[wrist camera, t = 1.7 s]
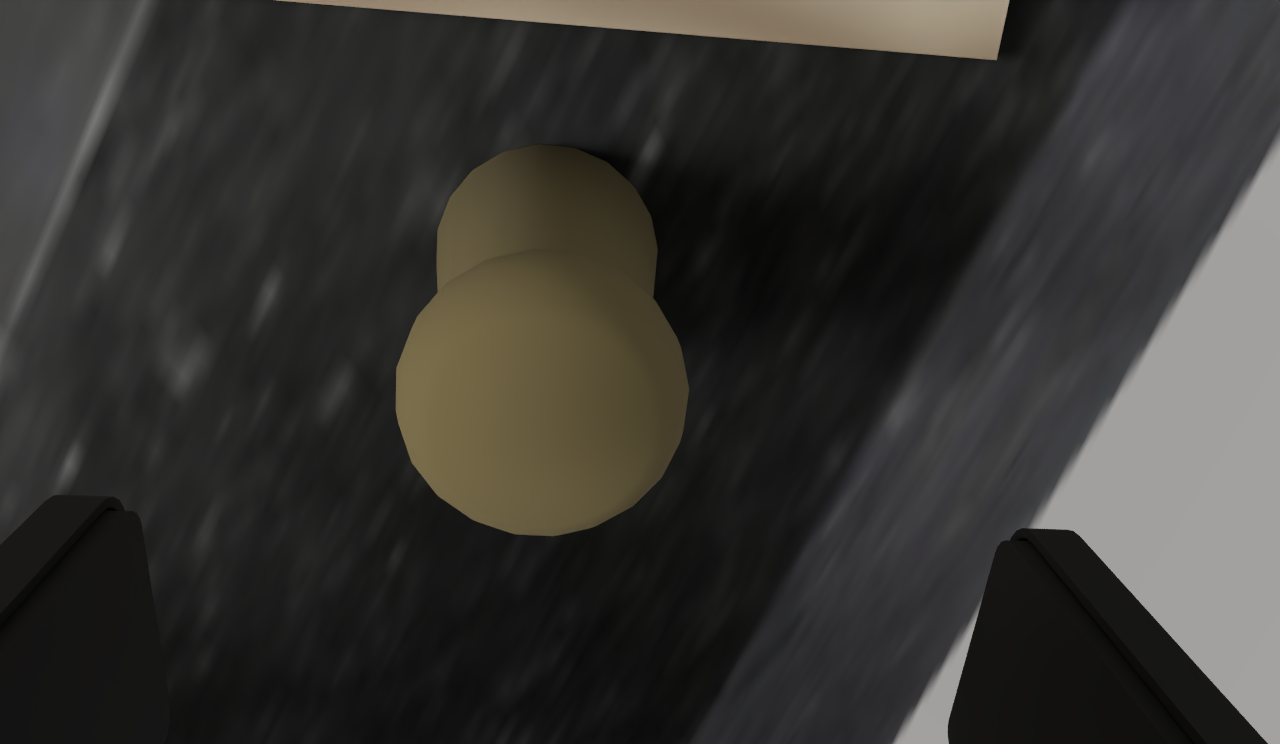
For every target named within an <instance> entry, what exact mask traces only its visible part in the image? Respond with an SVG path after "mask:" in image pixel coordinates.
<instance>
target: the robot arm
mask: <svg viewBox="0 0 1280 744" xmlns="http://www.w3.org/2000/svg"><path fill="white" fill-rule="evenodd" d="M169 725H170V705H169V698H168V692H167V685H166V679H165V673H164V666H163V660H162V653H161V647H160V640H159V634H158V628H157V621H156V615H155V608H154V602H153V595H152V589H151V583H150V576H149V570H148V563H147V557H146V550H145V544H144V538H143V531H142V525H141V521H140V518H139V516H138V515H137V513H135V512H133V511H125V510H124V507H123V505H122V503H121V502H120V500H119V499H117V498H115V497H106V496H77V495H55V496H52V497H50V498H49V499H48V500H46V501H45V502H44V503H43V504H42V505H41V506H40V507H39V508H38V509H37V510H36V511H35V512H34V513H33V514H32V515H31V516H30V517H29V518H28V519H27V520H26V521H25V522H24V523H23V524H22V525H21V526H20V527H19V528H18V529H17V530H16V531H14V532H13V533H12V534H11V535H10V536H9V537H8V538H7V539H6V540H5V541H4V542H3V543H2V544H1V545H0V744H165V741H166V738H167V735H168V730H169ZM948 739H949V744H1268V743H1267V742H1266V741H1265V740H1264V739H1263V738H1262V737H1261V736H1260V735H1259V734H1258V732H1257V731H1256V730H1255V729H1254V728H1253V727H1252V726H1251V725H1250V724H1249V722H1248V721H1247V720H1246V719H1245V718H1244V717H1243V716H1242V715H1241V714H1240V713H1239V711H1238V710H1237V709H1236V708H1235V707H1234V706H1233V705H1232V704H1231V703H1230V701H1229V700H1228V699H1227V698H1226V697H1225V696H1224V695H1223V694H1222V693H1221V692H1220V690H1219V689H1217V687H1216V686H1215V685H1214V684H1213V683H1212V682H1211V681H1210V679H1209V678H1208V677H1207V676H1206V675H1205V674H1204V673H1203V672H1202V671H1201V669H1199V667H1198V666H1197V665H1196V664H1195V663H1194V662H1193V661H1192V660H1191V659H1190V658H1189V656H1188V655H1187V654H1186V653H1185V652H1184V651H1183V650H1182V649H1181V647H1180V646H1179V645H1178V644H1177V643H1176V642H1175V641H1174V640H1173V639H1172V637H1171V636H1170V635H1169V634H1168V633H1167V632H1166V631H1165V630H1164V629H1163V628H1162V626H1161V625H1160V624H1159V623H1158V622H1157V621H1156V620H1155V619H1154V618H1153V616H1151V614H1150V613H1149V612H1148V611H1147V610H1146V609H1145V608H1144V607H1143V605H1141V603H1140V602H1139V601H1138V600H1137V599H1136V598H1135V597H1134V595H1133V594H1132V593H1131V592H1130V591H1129V590H1128V589H1127V588H1126V587H1125V586H1124V584H1123V583H1122V582H1121V581H1120V580H1119V579H1118V578H1117V577H1116V576H1115V574H1113V572H1112V571H1111V570H1110V569H1109V568H1108V567H1107V566H1106V565H1105V563H1104V562H1103V561H1102V560H1101V559H1100V558H1099V557H1098V556H1097V555H1096V554H1095V552H1094V551H1093V550H1092V549H1091V548H1090V547H1089V546H1088V545H1087V544H1086V543H1085V541H1084V540H1083V539H1082V538H1081V537H1080V536H1079V535H1077V534H1076V533H1075V532H1074V531H1070V530H1056V529H1027V528H1022V529H1020V530H1017V531H1016V532H1015V533H1014V535H1013V536H1012V537H1011V540H1010V541H1003V542H1001V543H1000V544H999V546H998V547H997V550H996V552H995V556H994V559H993V563H992V566H991V570H990V574H989V577H988V581H987V585H986V588H985V592H984V595H983V599H982V603H981V606H980V610H979V613H978V617H977V621H976V624H975V628H974V631H973V635H972V639H971V642H970V646H969V650H968V653H967V657H966V661H965V664H964V667H963V671H962V675H961V678H960V682H959V686H958V689H957V693H956V696H955V700H954V703H953V707H952V711H951V714H950V718H949V723H948Z"/></svg>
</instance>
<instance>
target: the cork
mask: <svg viewBox="0 0 1280 744" xmlns="http://www.w3.org/2000/svg"><path fill="white" fill-rule="evenodd" d="M657 252H658V248H657V243H656V238H655V233H654V228H653V223H652V218H651V215H650V213H649V212H648V210H647V208H646V206H645V205H644V203H643V201H642V199H641V198H640V196H639V194H638V192H637V191H636V189H635V187H634V186H633V185H632V184H631V183H630V182H629V181H628V180H627V179H626V178H624V177H623V176H622V175H621V174H620V173H619V172H618V171H617V170H616V169H614V168H613V167H612V166H611V165H610V164H609V163H608V162H606V161H603V160H601V159H599V158H597V157H594V156H592V155H590V154H588V153H585V152H583V151H581V150H579V149H576V148H572V147H563V146H553V145H543V144H536V145H532V146H527V147H523V148H518V149H514V150H509V151H504V152H502V153H500V154H499V155H497V156H495V157H494V158H492V159H490V160H489V161H487V162H485V163H484V164H482V165H480V166H479V167H477V168H475V169H474V170H472V171H471V173H470V174H469V175H468V176H467V177H466V179H465V180H464V181H463V182H462V183H461V185H460V186H459V187H458V188H457V189H456V190H455V192H454V193H453V194H452V195H451V196H450V198H449V201H448V203H447V206H446V209H445V211H444V214H443V217H442V219H441V222H440V224H439V227H438V233H437V289H438V293H437V294H436V295H435V296H434V298H433V299H432V300H431V301H430V302H429V303H428V305H427V306H426V307H425V308H424V309H423V310H422V311H421V313H420V314H419V315H418V316H417V318H416V320H415V322H414V325H413V327H412V329H411V332H410V334H409V337H408V339H407V342H406V345H405V347H404V350H403V352H402V355H401V358H400V360H399V363H398V365H397V368H396V414H397V419H398V424H399V427H400V430H401V433H402V436H403V439H404V441H405V444H406V447H407V450H408V453H409V456H410V459H411V462H412V464H413V465H414V466H415V467H416V469H417V470H418V471H419V473H420V474H421V475H422V476H423V478H424V479H425V480H426V482H427V483H428V484H429V485H430V487H431V488H432V489H433V491H434V492H435V493H436V494H437V496H439V497H440V498H442V499H443V500H445V501H446V502H447V503H449V504H450V505H452V506H453V507H455V508H456V509H458V510H459V511H460V512H462V513H463V514H465V515H466V516H468V517H469V518H471V519H472V520H474V521H477V522H479V523H482V524H485V525H488V526H491V527H494V528H497V529H500V530H503V531H506V532H509V533H512V534H519V535H539V536H557V535H562V534H566V533H571V532H575V531H580V530H584V529H589V528H592V527H595V526H597V525H599V524H601V523H603V522H604V521H606V520H608V519H610V518H612V517H614V516H616V515H618V514H619V513H621V512H623V511H625V510H627V509H629V508H631V507H632V506H634V505H635V504H636V503H637V502H638V501H639V500H640V499H641V498H642V497H643V496H644V495H645V494H646V493H647V492H648V491H649V490H650V489H651V488H652V487H653V486H654V485H655V484H656V483H657V482H658V481H659V480H660V479H661V478H662V476H663V474H664V472H665V470H666V468H667V467H668V465H669V463H670V461H671V459H672V457H673V455H674V453H675V451H676V449H677V447H678V445H679V443H680V441H681V437H682V433H683V428H684V422H685V415H686V408H687V401H688V394H689V385H688V380H687V375H686V370H685V365H684V360H683V355H682V350H681V346H680V344H679V341H678V339H677V336H676V335H675V333H674V331H673V330H672V328H671V326H670V325H669V323H668V321H667V320H666V318H665V316H664V315H663V313H662V311H661V309H660V308H659V306H658V304H657V303H656V301H655V300H654V299H653V295H654V285H655V274H656V263H657Z"/></svg>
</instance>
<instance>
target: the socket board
mask: <svg viewBox="0 0 1280 744" xmlns="http://www.w3.org/2000/svg"><path fill="white" fill-rule="evenodd" d="M278 1H290V2H302V3H314V4H326V5H338V6H350V7H362V8H374V9H386V10H398V11H410V12H423V13H435V14H447V15H459V16H471V17H483V18H495V19H507V20H519V21H531V22H543V23H555V24H567V25H579V26H591V27H604V28H616V29H628V30H640V31H652V32H664V33H676V34H688V35H700V36H712V37H724V38H736V39H748V40H760V41H772V42H785V43H797V44H809V45H821V46H833V47H845V48H857V49H869V50H881V51H893V52H905V53H917V54H929V55H941V56H953V57H966V58H978V59H990V60H997V56H998V51H999V47H1000V42H1001V37H1002V33H1003V28H1004V23H1005V19H1006V14H1007V10H1008V5H1009V0H278Z"/></svg>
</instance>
